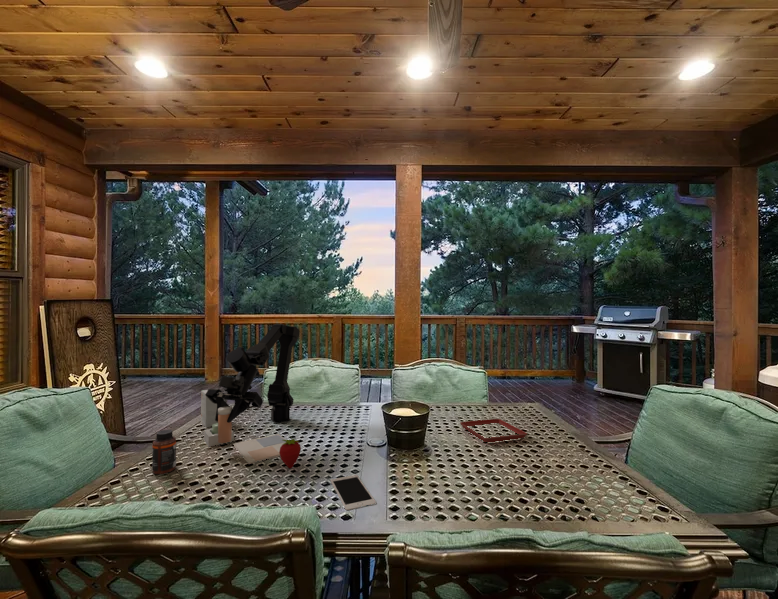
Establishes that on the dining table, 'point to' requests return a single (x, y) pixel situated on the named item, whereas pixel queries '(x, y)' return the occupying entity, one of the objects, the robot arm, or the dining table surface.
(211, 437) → the button housing
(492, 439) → the red square frame
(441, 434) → the dining table surface
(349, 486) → the cell phone
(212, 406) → the small box
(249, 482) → the dining table surface
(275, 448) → the sheet
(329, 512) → the dining table surface
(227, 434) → the capped orange bottle
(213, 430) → the button
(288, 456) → the decorative fruit
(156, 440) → the supplement bottle
